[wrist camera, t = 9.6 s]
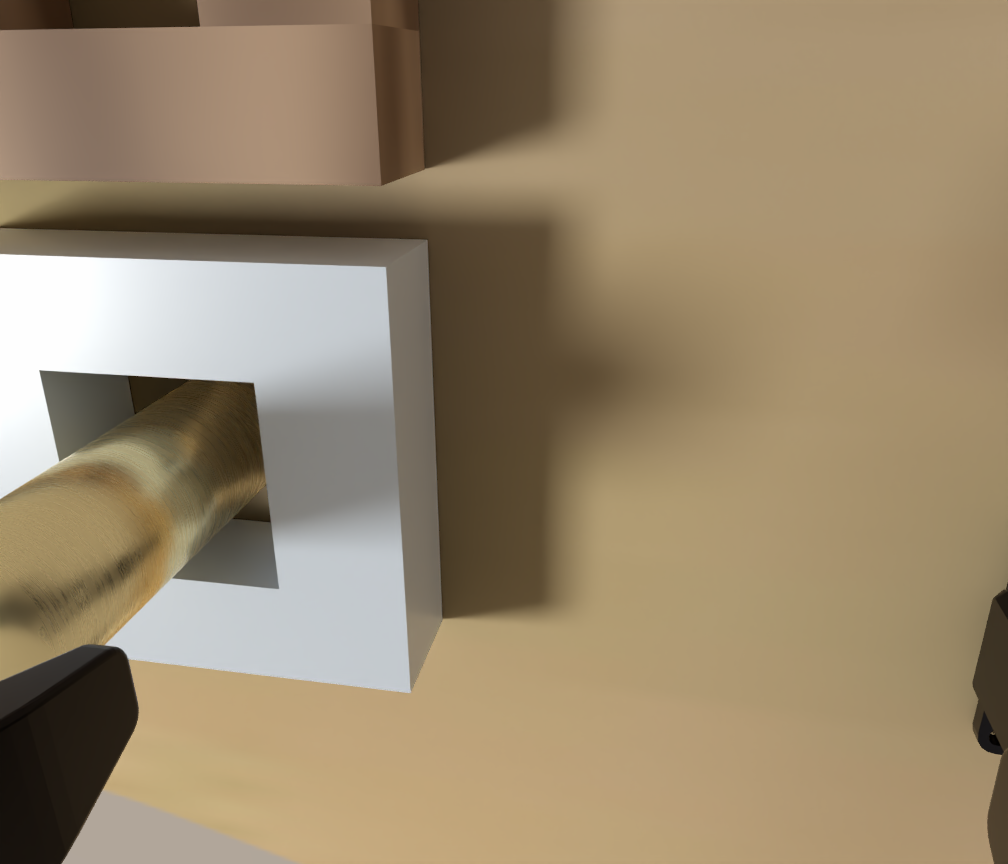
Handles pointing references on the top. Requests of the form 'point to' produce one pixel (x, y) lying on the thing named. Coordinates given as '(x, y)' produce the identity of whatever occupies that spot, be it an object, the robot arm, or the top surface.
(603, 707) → the top surface
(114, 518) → the pin
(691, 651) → the top surface
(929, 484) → the top surface
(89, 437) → the socket
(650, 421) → the top surface
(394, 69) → the mount
